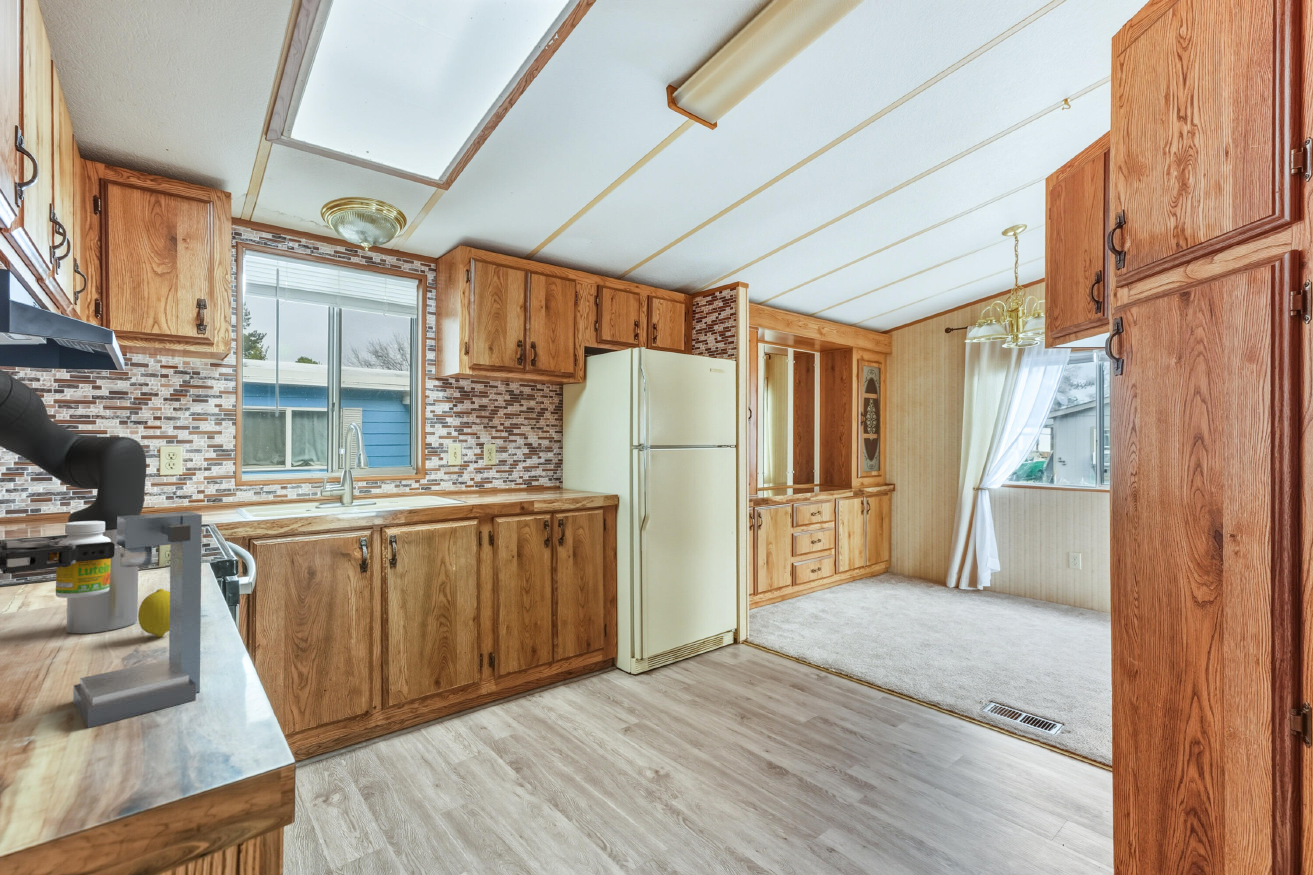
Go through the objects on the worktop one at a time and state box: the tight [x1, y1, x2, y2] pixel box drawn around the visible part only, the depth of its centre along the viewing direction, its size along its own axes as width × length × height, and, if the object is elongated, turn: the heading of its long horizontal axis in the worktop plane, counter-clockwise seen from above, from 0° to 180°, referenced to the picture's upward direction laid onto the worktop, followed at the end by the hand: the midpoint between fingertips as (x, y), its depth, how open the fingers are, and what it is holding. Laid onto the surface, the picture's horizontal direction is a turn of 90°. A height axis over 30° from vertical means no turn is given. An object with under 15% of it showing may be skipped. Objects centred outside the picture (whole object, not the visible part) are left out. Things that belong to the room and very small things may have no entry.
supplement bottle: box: [55, 521, 111, 599], centre depth 83 cm, size 5×5×10 cm
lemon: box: [137, 588, 170, 638], centre depth 101 cm, size 6×6×8 cm
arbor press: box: [72, 510, 203, 729], centre depth 76 cm, size 15×11×23 cm
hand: (109, 547), depth 85 cm, fingers closed on supplement bottle, 5 cm apart
